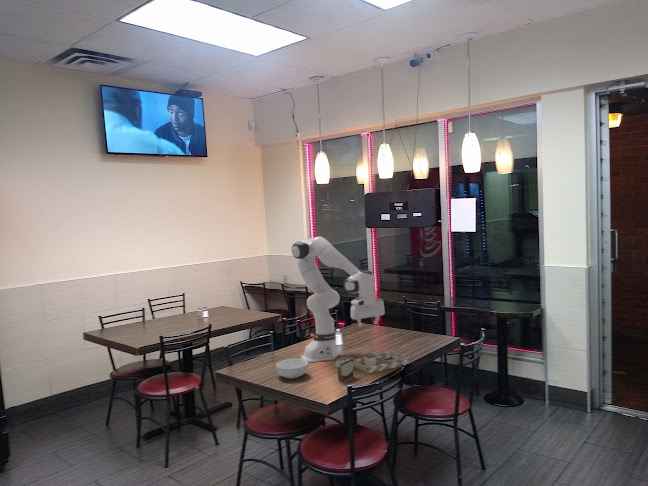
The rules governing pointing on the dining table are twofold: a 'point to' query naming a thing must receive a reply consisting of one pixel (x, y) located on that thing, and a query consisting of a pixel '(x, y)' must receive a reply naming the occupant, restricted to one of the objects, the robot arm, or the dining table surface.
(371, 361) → the plug block
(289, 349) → the dining table surface
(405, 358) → the divider frame
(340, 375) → the food container
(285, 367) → the cereal bowl
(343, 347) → the dining table surface
